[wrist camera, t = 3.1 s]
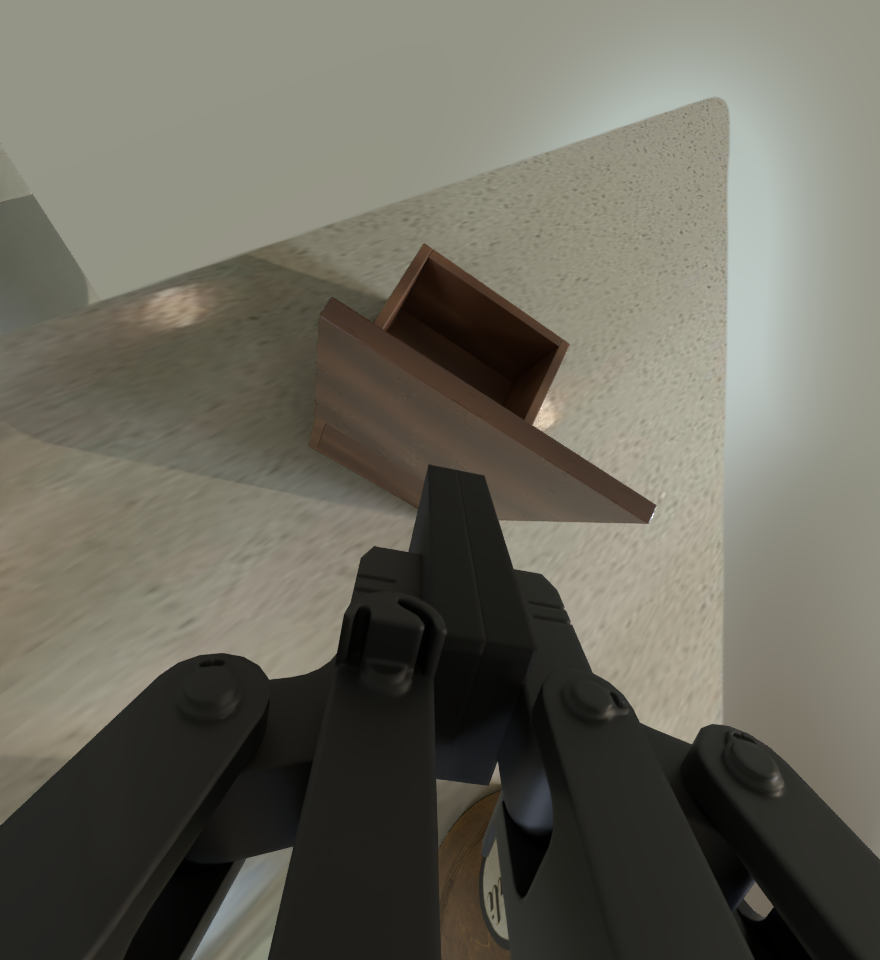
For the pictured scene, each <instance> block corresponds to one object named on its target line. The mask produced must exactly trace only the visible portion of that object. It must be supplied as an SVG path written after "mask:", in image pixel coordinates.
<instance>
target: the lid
mask: <svg viewBox="0 0 880 960" xmlns="http://www.w3.org/2000/svg"><path fill="white" fill-rule="evenodd" d="M314 417H316V418H317V419H319V420H321V421H323V422H324V423H326V424H328V425H329V426H331V427H333V428H334V429H336V430H338V431H340V432H341V433H343V434H345V435H346V436H348V437H350V438H351V439H353V440H355V441H357V442H358V443H360V444H362V445H363V446H365V447H367V448H369V449H370V450H372V451H374V452H375V453H377V454H379V455H380V456H382V457H384V458H386V459H387V460H389V461H391V462H392V463H394V464H396V465H397V466H399V467H401V468H403V469H404V470H406V471H408V472H409V473H411V474H413V475H415V476H416V477H418V478H420V479H421V480H423V481H425V477H426V472H427V468H428V464H429V465H434V466H440V467H445V468H450V469H455V470H460V471H465V472H470V473H475V474H480V475H485V478H486V482H487V485H488V488H489V491H490V495H491V498H492V501H493V504H494V508H495V511H496V514H497V517H498V520H511V521H553V522H595V523H637V524H649V523H650V521H651V519H652V516H653V514H654V512H655V510H656V507H657V506H656V505H655V504H654V503H652V502H651V501H649V500H648V499H646V498H644V497H643V496H641V495H640V494H638V493H637V492H635V491H634V490H632V489H630V488H629V487H627V486H626V485H624V484H623V483H621V482H620V481H618V480H616V479H615V478H613V477H612V476H610V475H609V474H607V473H606V472H604V471H602V470H601V469H599V468H598V467H596V466H595V465H593V464H592V463H590V462H588V461H587V460H585V459H584V458H582V457H581V456H579V455H578V454H576V453H574V452H573V451H571V450H570V449H568V448H567V447H565V446H564V445H562V444H560V443H559V442H557V441H556V440H554V439H553V438H551V437H550V436H548V435H546V434H545V433H543V432H542V431H540V430H539V429H537V428H536V427H534V426H532V425H531V424H529V423H528V422H526V421H525V420H523V419H522V418H520V417H518V416H517V415H515V414H514V413H512V412H511V411H509V410H508V409H506V408H504V407H503V406H501V405H500V404H498V403H497V402H495V401H494V400H492V399H490V398H489V397H487V396H486V395H484V394H483V393H481V392H480V391H478V390H476V389H475V388H473V387H472V386H470V385H469V384H467V383H466V382H464V381H462V380H461V379H459V378H458V377H456V376H455V375H453V374H452V373H450V372H448V371H447V370H445V369H444V368H442V367H441V366H439V365H438V364H436V363H434V362H433V361H431V360H430V359H428V358H427V357H425V356H424V355H422V354H420V353H419V352H417V351H416V350H414V349H413V348H411V347H410V346H408V345H406V344H405V343H403V342H402V341H400V340H399V339H397V338H396V337H394V336H392V335H391V334H389V333H388V332H386V331H385V330H383V329H382V328H380V327H378V326H377V325H375V324H374V323H372V322H371V321H369V320H368V319H366V318H364V317H363V316H361V315H360V314H358V313H357V312H355V311H354V310H352V309H350V308H349V307H347V306H346V305H344V304H343V303H341V302H340V301H338V300H336V299H335V298H333V297H331V298H330V299H329V300H328V302H327V303H326V305H325V306H324V308H323V309H322V311H321V313H320V314H319V327H318V347H317V366H316V385H315V405H314Z"/></svg>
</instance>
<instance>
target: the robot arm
mask: <svg viewBox="0 0 880 960" xmlns="http://www.w3.org/2000/svg"><path fill="white" fill-rule="evenodd" d="M570 622H571V621H570V619H569V617H568V614H567V612H566V610H564V605H563V603H562V600H561V598H560V596H559V593H558V591H557V590H556V588H555V587H554V586H553V585H552V584H551V583H550V582H549V581H548V580H547V579H546V578H545V577H544V576H543V575H542V574H538V573H532V572H527V571H521V570H515V569H513V566H512V563H511V559H510V556H509V553H508V550H507V546H506V543H505V540H504V537H503V534H502V530H501V527H500V524H499V521H498V517H497V514H496V511H495V508H494V504H493V501H492V498H491V495H490V491H489V488H488V485H487V482H486V478H485V475H480V474H475V473H470V472H465V471H460V470H455V469H450V468H445V467H440V466H434V465H429V464H428V468H427V472H426V477H425V481H424V486H423V490H422V494H421V499H420V503H419V508H418V512H417V517H416V521H415V525H414V530H413V534H412V539H411V543H410V547H409V552H404V551H398V550H393V549H387V548H381V547H376V546H374V547H373V548H372V549H371V550H369V551H368V552H367V553H366V554H365V555H364V556H363V557H361V560H360V564H359V569H358V573H357V577H356V582H355V586H354V591H353V595H352V599H351V603H350V605H349V607H348V608H347V610H346V612H345V614H344V618H343V623H342V629H341V634H340V640H339V645H338V651H337V654H336V655H335V656H334V657H333V659H332V660H331V661H330V662H328V663H327V664H326V665H324V666H323V667H321V668H320V669H318V670H315V671H313V672H310V673H308V674H305V675H300V676H295V677H290V678H281V679H272V680H269V679H268V677H267V676H266V674H265V673H264V672H263V670H262V669H261V668H260V666H259V665H257V664H255V663H253V662H252V661H250V660H248V659H246V658H244V657H241V656H236V655H230V654H225V653H219V654H208V655H199V656H196V657H193V658H191V659H188V660H185V661H182V662H179V663H177V664H176V665H174V666H173V667H171V668H170V669H168V670H167V671H165V672H164V673H163V674H161V675H160V676H158V677H157V678H156V679H155V680H154V681H153V682H152V683H151V684H150V685H149V686H148V687H147V688H146V689H145V690H144V691H143V692H141V693H140V694H139V695H138V696H137V697H136V698H135V699H134V700H133V701H132V702H131V703H130V704H129V705H128V706H127V707H126V708H125V709H123V710H122V711H121V712H120V713H119V714H118V715H117V716H116V717H115V718H114V719H113V720H112V721H111V722H110V723H109V724H108V725H106V726H105V727H104V728H103V729H102V730H101V731H100V732H99V733H98V734H97V735H96V736H95V737H94V738H93V739H92V740H91V741H90V742H88V743H87V744H86V745H85V746H84V747H83V748H82V749H81V750H80V751H79V752H78V753H77V754H76V755H75V756H74V757H73V758H72V759H70V760H69V761H68V762H67V763H66V764H65V765H64V766H63V767H62V768H61V769H60V770H59V771H58V772H57V773H56V774H55V775H53V776H52V777H51V778H50V779H49V780H48V781H47V782H46V783H45V784H44V785H43V786H42V787H41V788H40V789H39V790H38V791H37V792H35V793H34V794H33V795H32V796H31V797H30V798H29V799H28V800H27V801H26V802H25V803H24V804H23V805H22V806H21V807H20V808H19V809H17V810H16V811H15V812H14V813H13V814H12V815H11V816H10V817H9V818H8V819H7V820H6V821H5V822H4V823H3V824H2V825H0V960H191V959H192V957H193V955H194V953H195V951H196V950H197V948H198V946H199V944H200V942H201V940H202V939H203V937H204V935H205V933H206V931H207V929H208V928H209V926H210V924H211V922H212V920H213V919H214V917H215V915H216V913H217V911H218V909H219V908H220V906H221V904H222V902H223V900H224V898H225V897H226V895H227V893H228V891H229V889H230V888H231V886H232V884H233V882H234V880H235V878H236V877H237V875H238V873H239V871H240V869H241V867H242V866H243V864H244V862H245V860H246V858H249V857H253V856H257V855H261V854H265V853H269V852H273V851H277V850H281V849H285V848H289V847H293V846H294V847H293V851H292V855H291V860H290V864H289V869H288V873H287V877H286V882H285V886H284V890H283V895H282V899H281V904H280V908H279V912H278V917H277V921H276V926H275V930H274V934H273V939H272V943H271V947H270V952H269V956H268V960H441V941H440V904H439V866H438V829H437V791H436V779H440V780H448V781H456V782H464V783H471V784H479V785H487V786H489V783H490V780H491V778H492V775H493V772H494V769H495V767H496V764H497V761H498V765H499V772H500V778H501V785H502V790H501V793H500V795H499V798H498V801H497V803H496V806H495V808H494V811H493V814H492V816H491V819H490V822H489V824H488V827H487V829H486V832H485V835H484V837H483V840H482V851H481V856H484V857H488V856H489V854H490V851H491V849H492V846H493V844H494V841H495V839H496V842H497V850H498V858H499V866H500V874H501V882H502V890H503V898H504V906H505V914H506V922H507V930H508V938H509V945H510V953H511V960H880V859H879V858H878V857H877V856H876V855H875V854H874V853H873V852H872V851H871V850H870V849H869V848H868V847H867V846H866V845H865V844H864V843H863V842H862V841H861V840H860V839H859V837H857V835H856V834H855V833H854V832H853V831H852V830H851V829H850V828H849V827H848V826H847V825H846V824H845V823H844V822H843V821H842V820H841V819H840V818H839V817H838V816H837V815H836V813H835V812H834V811H833V810H832V809H831V808H830V807H829V806H828V805H827V804H826V803H825V802H824V801H823V800H822V799H821V798H820V797H819V796H818V795H817V794H816V793H815V792H814V791H813V789H812V788H811V787H810V786H809V785H808V784H807V783H806V782H805V781H804V780H803V779H802V778H801V777H800V776H799V775H798V774H797V773H796V772H795V771H794V770H793V769H792V768H791V767H790V766H789V764H788V763H787V762H785V761H784V760H783V759H782V758H781V757H780V756H779V755H777V754H776V753H775V752H774V751H773V750H772V749H771V748H769V747H768V746H767V745H765V744H764V743H762V742H760V741H759V740H757V739H756V738H754V737H753V736H751V735H749V734H747V733H745V732H742V731H740V730H737V729H735V728H732V727H730V726H724V725H715V724H711V725H709V726H706V727H703V728H701V729H700V731H699V733H698V735H697V737H696V738H695V740H694V742H693V744H689V743H687V742H684V741H682V740H679V739H677V738H674V737H672V736H670V735H667V734H665V733H662V732H660V731H657V730H655V729H652V728H650V727H648V726H646V725H644V724H642V723H640V722H639V720H638V718H637V716H636V714H635V712H634V710H633V708H632V707H631V705H630V704H629V702H628V701H627V699H626V698H625V697H624V695H623V694H622V693H621V692H620V691H618V690H617V689H616V688H615V687H614V686H613V685H612V684H610V683H609V682H608V681H606V680H604V679H602V678H600V677H599V676H597V675H595V674H593V673H592V670H591V668H590V666H589V663H588V661H587V659H586V656H585V654H584V652H583V649H582V647H581V645H580V642H579V640H578V638H577V635H576V633H575V631H574V628H573V626H572V625H570ZM755 882H756V883H757V884H758V886H759V887H760V888H761V890H762V891H763V892H764V894H765V895H766V896H767V898H768V899H769V901H770V902H771V903H772V905H773V906H774V908H773V909H772V910H771V912H770V913H769V914H768V916H767V917H762V916H760V915H759V914H758V913H756V912H755V911H753V909H752V908H751V907H750V906H749V905H748V904H747V902H746V901H745V900H744V897H745V896H746V894H747V893H748V892H749V890H750V889H751V888H752V886H753V885H754V883H755Z"/></svg>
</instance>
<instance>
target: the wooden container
mask: <svg viewBox="0 0 880 960" xmlns="http://www.w3.org/2000/svg"><path fill="white" fill-rule="evenodd" d="M500 793H501V791H499V792H497V793H494V794H491V795H489V796H487V797H486V798H484V799H482V800H480V801H479V802H477V803H476V804H475V805H474V806H472V807H471V808H470V809H469V810H468V811H467V812H465V813H464V814H463V816H462V817H460V819H459V820H458V821H457V822H456V823H455V825H454V826H453V827H452V829H451V830H450V832H449V833H448V835H447V836H446V838H445V839H444V841H443V843H442V845H441V847H440V849H439V851H438V866H439V904H440V941H441V960H511V953H510V945H509V938H508V930H507V922H506V914H505V906H504V898H503V890H502V882H501V874H500V866H499V858H498V850H497V842H496V839H495V841H494V844H493V846H492V849H491V851H490V854H489V856H488V857H484V856H481V851H482V840H483V837H484V835H485V832H486V829H487V827H488V824H489V822H490V819H491V816H492V814H493V811H494V808H495V806H496V803H497V801H498V798H499V795H500Z"/></svg>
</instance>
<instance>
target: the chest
mask: <svg viewBox="0 0 880 960" xmlns="http://www.w3.org/2000/svg"><path fill="white" fill-rule="evenodd" d="M374 324H375V325H377V326H378V327H380V328H382V329H383V330H385V331H386V332H388V333H389V334H391V335H392V336H394V337H396V338H397V339H399V340H400V341H402V342H403V343H405V344H406V345H408V346H410V347H411V348H413V349H414V350H416V351H417V352H419V353H420V354H422V355H424V356H425V357H427V358H428V359H430V360H431V361H433V362H434V363H436V364H438V365H439V366H441V367H442V368H444V369H445V370H447V371H448V372H450V373H452V374H453V375H455V376H456V377H458V378H459V379H461V380H462V381H464V382H466V383H467V384H469V385H470V386H472V387H473V388H475V389H476V390H478V391H480V392H481V393H483V394H484V395H486V396H487V397H489V398H490V399H492V400H494V401H495V402H497V403H498V404H500V405H501V406H503V407H504V408H506V409H508V410H509V411H511V412H512V413H514V414H515V415H517V416H518V417H520V418H522V419H523V420H525V421H526V422H528V423H529V424H531V425H533V423H534V421H535V419H536V417H537V414H538V412H539V410H540V408H541V406H542V404H543V401H544V399H545V397H546V395H547V393H548V391H549V389H550V386H551V384H552V382H553V380H554V378H555V376H556V374H557V371H558V369H559V367H560V365H561V363H562V361H563V358H564V356H565V354H566V352H567V350H568V348H569V346H570V344H569V343H567V342H566V341H565V340H563V339H562V338H560V337H559V336H558V335H556V334H555V333H553V332H552V331H550V330H549V329H547V328H546V327H545V326H543V325H542V324H540V323H539V322H537V321H536V320H534V319H533V318H532V317H530V316H529V315H527V314H526V313H524V312H523V311H521V310H520V309H519V308H517V307H516V306H514V305H513V304H511V303H510V302H508V301H507V300H506V299H504V298H503V297H501V296H500V295H498V294H497V293H496V292H494V291H493V290H491V289H490V288H488V287H487V286H485V285H484V284H483V283H481V282H480V281H478V280H477V279H475V278H474V277H472V276H471V275H470V274H468V273H467V272H465V271H464V270H462V269H461V268H459V267H458V266H457V265H455V264H454V263H452V262H451V261H449V260H448V259H446V258H445V257H444V256H442V255H441V254H439V253H438V252H436V251H435V250H432V248H430V247H429V246H428V245H426V244H423V245H422V247H421V248H420V250H419V251H418V253H417V255H416V256H415V258H414V259H413V261H412V262H411V264H410V266H409V267H408V269H407V270H406V272H405V274H404V275H403V277H402V278H401V280H400V281H399V283H398V285H397V286H396V288H395V289H394V291H393V293H392V294H391V296H390V297H389V299H388V300H387V302H386V304H385V305H384V307H383V308H382V310H381V312H380V313H379V315H378V316H377V318H376V319H375V321H374ZM309 446H310V447H312V448H313V449H315V450H317V451H319V452H320V453H322V454H324V455H326V456H327V457H329V458H331V459H333V460H334V461H336V462H338V463H340V464H341V465H343V466H345V467H347V468H348V469H350V470H352V471H354V472H355V473H357V474H359V475H361V476H362V477H364V478H366V479H368V480H369V481H371V482H373V483H375V484H376V485H378V486H380V487H382V488H383V489H385V490H387V491H389V492H390V493H392V494H394V495H395V496H397V497H399V498H401V499H402V500H404V501H406V502H408V503H409V504H411V505H413V506H415V507H416V508H419V503H420V499H421V494H422V490H423V486H424V481H423V480H421V479H420V478H418V477H416V476H415V475H413V474H411V473H409V472H408V471H406V470H404V469H403V468H401V467H399V466H397V465H396V464H394V463H392V462H391V461H389V460H387V459H386V458H384V457H382V456H380V455H379V454H377V453H375V452H374V451H372V450H370V449H369V448H367V447H365V446H363V445H362V444H360V443H358V442H357V441H355V440H353V439H351V438H350V437H348V436H346V435H345V434H343V433H341V432H340V431H338V430H336V429H334V428H333V427H331V426H329V425H328V424H326V423H324V422H323V421H321V420H319V419H317V418H316V417H315V421H314V425H313V429H312V433H311V437H310V441H309Z"/></svg>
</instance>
